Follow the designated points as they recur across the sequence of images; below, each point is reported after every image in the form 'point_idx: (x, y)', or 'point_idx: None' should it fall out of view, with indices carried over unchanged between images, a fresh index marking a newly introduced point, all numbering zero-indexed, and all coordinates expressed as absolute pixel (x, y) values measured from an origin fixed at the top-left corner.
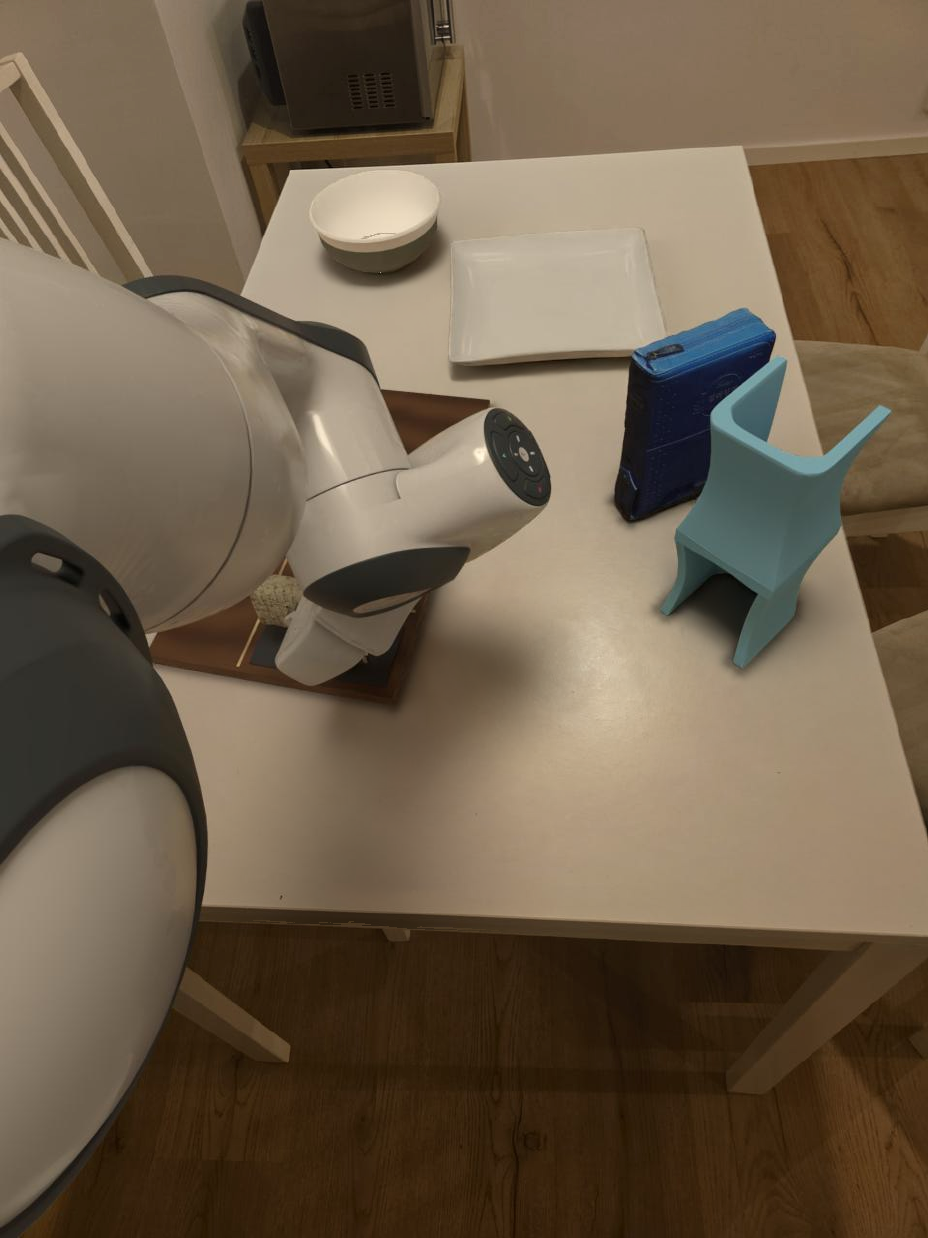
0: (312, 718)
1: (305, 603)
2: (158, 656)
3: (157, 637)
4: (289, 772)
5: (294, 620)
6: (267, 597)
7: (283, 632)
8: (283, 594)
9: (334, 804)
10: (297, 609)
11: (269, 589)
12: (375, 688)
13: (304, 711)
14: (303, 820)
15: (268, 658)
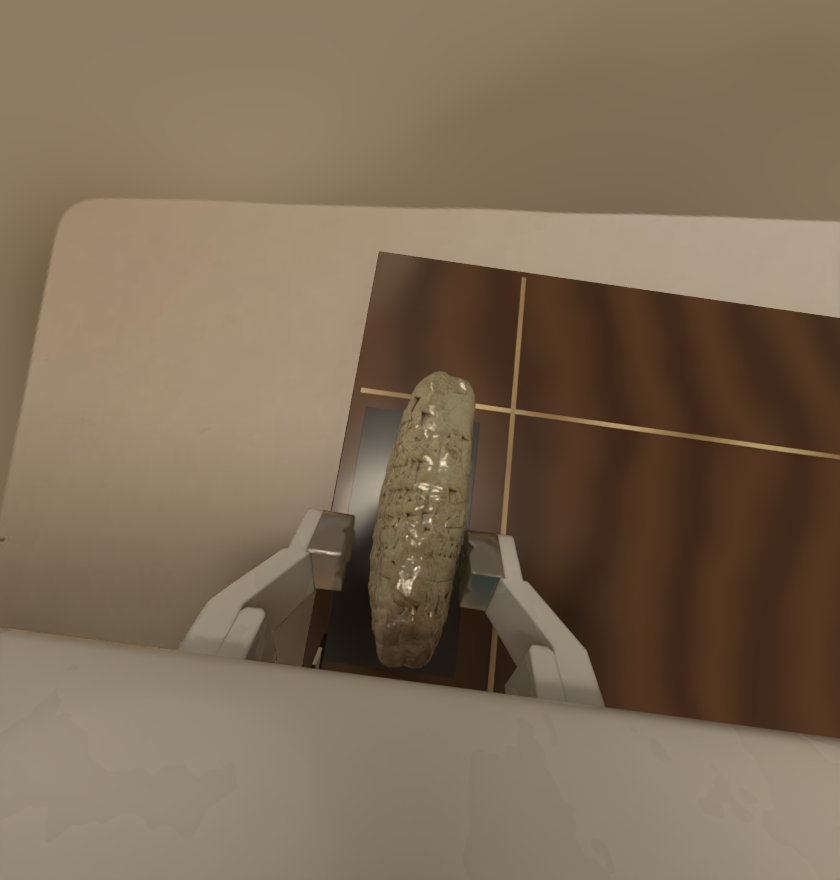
0: (288, 523)
1: (33, 814)
2: (376, 269)
3: (409, 259)
4: (197, 507)
5: (4, 714)
6: (399, 441)
7: None
8: (399, 488)
9: (138, 591)
10: (105, 696)
11: (412, 445)
12: (321, 640)
13: (301, 507)
14: (117, 546)
15: (375, 435)
